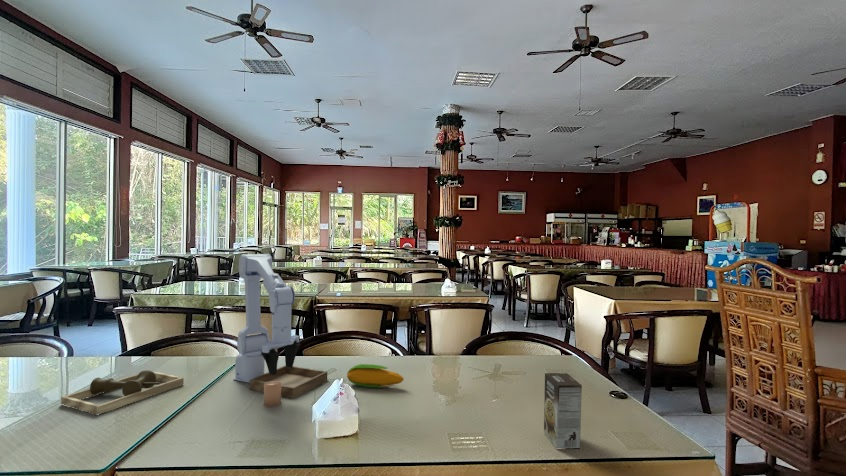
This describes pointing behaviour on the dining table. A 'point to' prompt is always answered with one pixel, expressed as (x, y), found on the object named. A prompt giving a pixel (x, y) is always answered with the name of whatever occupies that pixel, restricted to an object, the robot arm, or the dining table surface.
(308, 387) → the walnut tray
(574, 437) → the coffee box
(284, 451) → the dining table surface
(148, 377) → the kendama
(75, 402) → the oak frame
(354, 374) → the corn
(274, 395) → the tan rounded cylinder
